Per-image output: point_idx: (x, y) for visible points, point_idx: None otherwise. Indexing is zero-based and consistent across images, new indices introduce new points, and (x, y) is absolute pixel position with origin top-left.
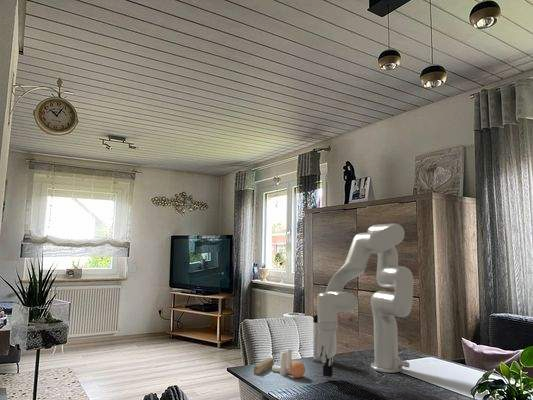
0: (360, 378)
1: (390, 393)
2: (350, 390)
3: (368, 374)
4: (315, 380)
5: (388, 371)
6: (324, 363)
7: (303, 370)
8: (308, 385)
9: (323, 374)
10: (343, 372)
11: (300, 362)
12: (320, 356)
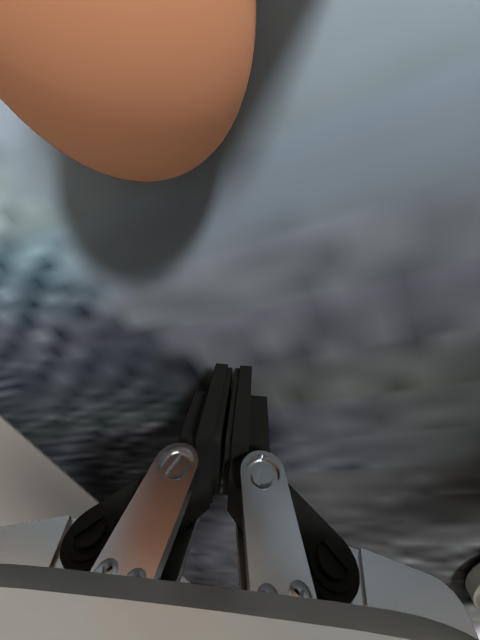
0: (339, 499)
1: (190, 566)
2: (134, 478)
3: (425, 522)
4: (183, 294)
5: (468, 584)
6: (125, 493)
7: (98, 170)
8: (45, 276)
9: (215, 368)
10: (449, 426)
11: (24, 5)
12: (49, 591)
